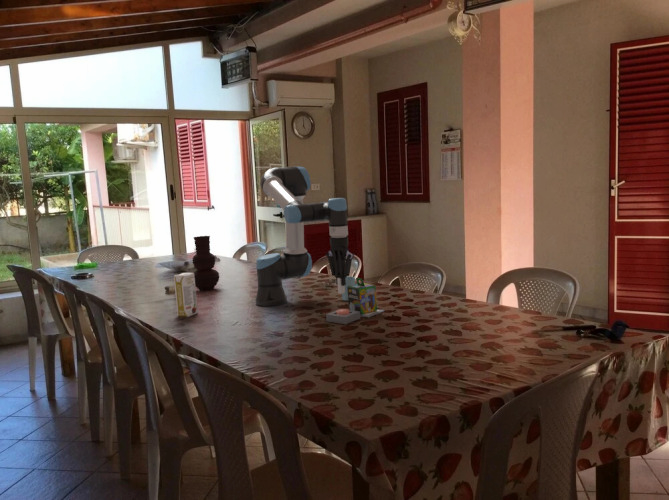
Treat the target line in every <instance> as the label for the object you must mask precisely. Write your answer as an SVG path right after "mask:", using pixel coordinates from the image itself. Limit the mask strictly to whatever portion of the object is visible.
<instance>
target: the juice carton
mask: <svg viewBox="0 0 669 500" xmlns="http://www.w3.org/2000/svg"><path fill="white" fill-rule="evenodd" d="M173 281H174V289H175V290H174V293H175V303H176V312H177V313H176V314H177V317H183V318H184V317H186V318H189V317H191V316H194V315H197V314H198V300H197V290H196V288H197V287H196V286H195V277H194V272H182V273H180V274H174V275H173Z"/></svg>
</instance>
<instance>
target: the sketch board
mask: <svg viewBox="0 0 669 500" xmlns="http://www.w3.org/2000/svg"><path fill="white" fill-rule="evenodd" d="M384 312H385V309H378V308H377V311H374V312H369V313H366V314H362V315H360V318H361V317H363V318H371V317H373V316H376V315H378V314H381V313H384Z"/></svg>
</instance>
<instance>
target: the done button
mask: <svg viewBox="0 0 669 500" xmlns="http://www.w3.org/2000/svg"><path fill="white" fill-rule="evenodd" d="M336 311H337V314H338V315H347V314H349V308H339V309H337V310H336Z"/></svg>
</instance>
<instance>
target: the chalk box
mask: <svg viewBox="0 0 669 500" xmlns="http://www.w3.org/2000/svg"><path fill="white" fill-rule="evenodd" d="M355 282H356V283H355V284H354V285H351V286H348V287H347V289H348V310H352V311H359V312H360V315H362V314H366V313H369V312H374V311H377V309H378V303H377V285H376V284H373V283H365V282H364V280H363V278H361V277H355Z"/></svg>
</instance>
